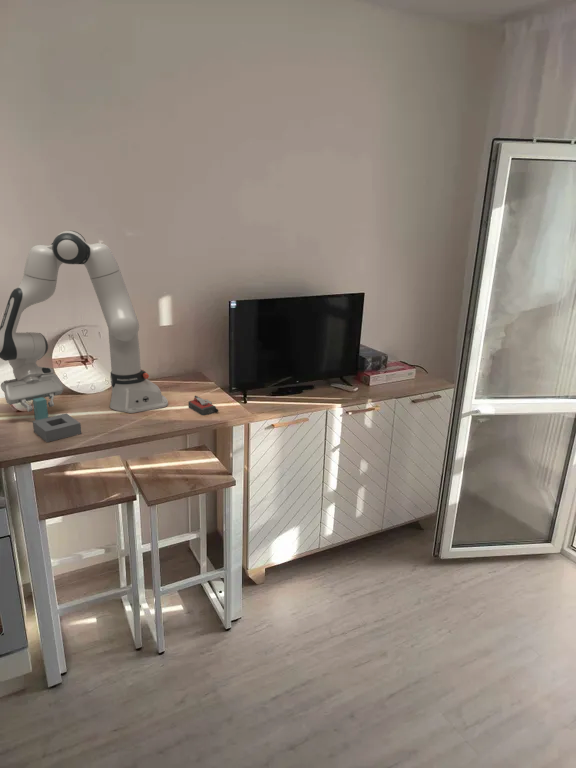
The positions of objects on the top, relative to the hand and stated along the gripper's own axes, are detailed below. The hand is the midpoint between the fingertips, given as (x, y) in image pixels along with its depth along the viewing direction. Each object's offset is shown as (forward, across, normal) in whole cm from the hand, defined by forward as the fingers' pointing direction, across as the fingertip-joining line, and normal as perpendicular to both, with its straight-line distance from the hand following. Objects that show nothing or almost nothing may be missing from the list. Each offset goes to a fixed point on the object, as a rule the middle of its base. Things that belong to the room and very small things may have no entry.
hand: (41, 408), depth 213 cm
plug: (+3, 0, +4) cm, 5 cm away
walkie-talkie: (+21, +53, -14) cm, 59 cm away
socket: (+14, 0, -8) cm, 16 cm away
